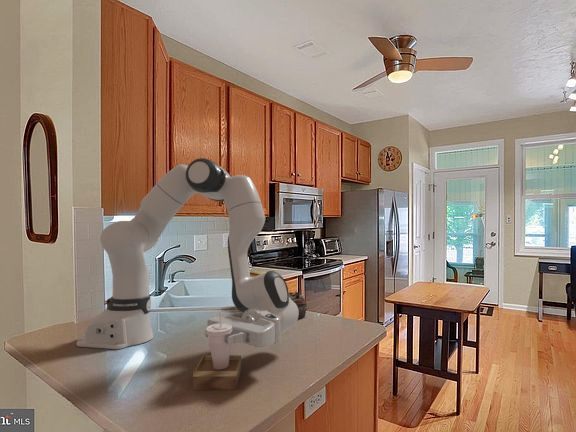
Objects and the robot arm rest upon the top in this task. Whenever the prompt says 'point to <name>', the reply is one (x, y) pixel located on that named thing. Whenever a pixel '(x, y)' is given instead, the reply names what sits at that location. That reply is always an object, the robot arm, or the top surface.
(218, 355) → the smoothie
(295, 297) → the cupcake
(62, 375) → the top surface
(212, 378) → the wooden tray
